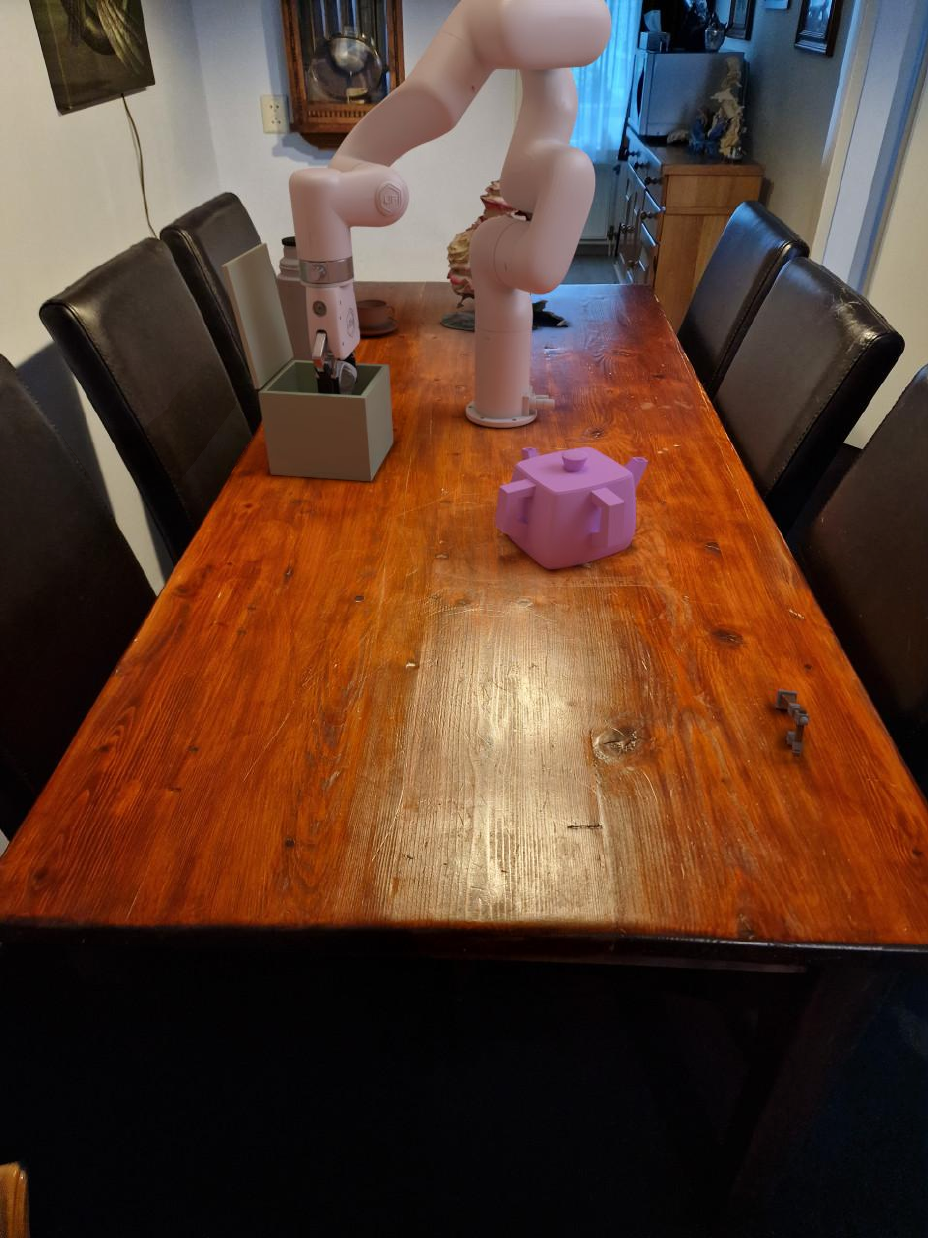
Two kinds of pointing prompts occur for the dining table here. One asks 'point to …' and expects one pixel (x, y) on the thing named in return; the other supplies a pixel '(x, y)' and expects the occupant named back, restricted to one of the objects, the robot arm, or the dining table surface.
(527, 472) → the teakettle
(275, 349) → the lid
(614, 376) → the dining table surface
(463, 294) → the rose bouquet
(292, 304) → the thermos bottle
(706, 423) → the dining table surface
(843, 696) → the dining table surface
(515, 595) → the dining table surface
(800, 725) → the grey jointed linkage
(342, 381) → the watch
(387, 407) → the grey open box
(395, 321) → the cup and saucer
